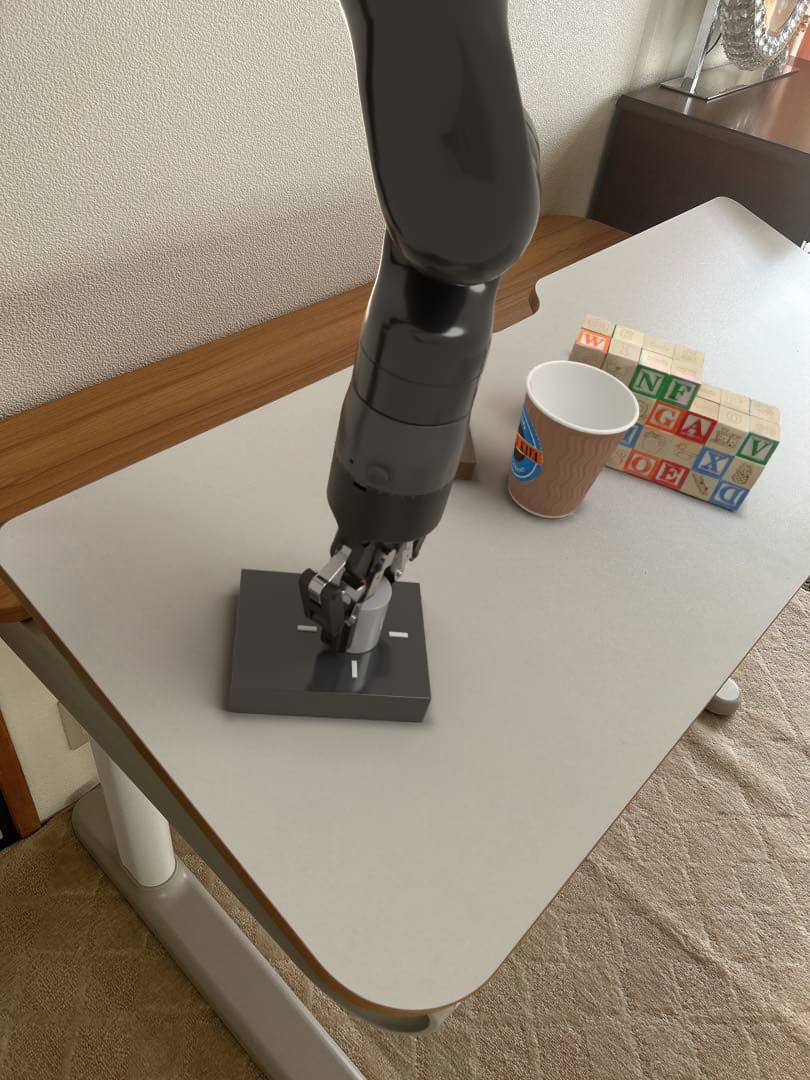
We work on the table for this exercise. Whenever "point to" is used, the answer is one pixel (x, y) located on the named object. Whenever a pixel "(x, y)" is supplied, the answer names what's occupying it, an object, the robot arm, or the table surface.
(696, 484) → the stack of blocks
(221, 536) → the table surface
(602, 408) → the coffee cup
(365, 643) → the stove knob
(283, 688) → the stove panel
